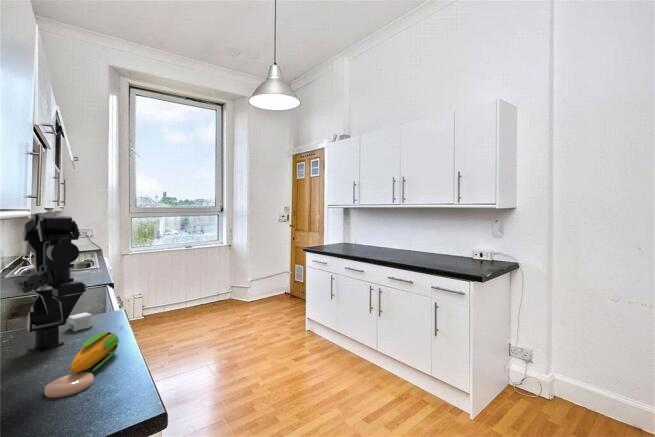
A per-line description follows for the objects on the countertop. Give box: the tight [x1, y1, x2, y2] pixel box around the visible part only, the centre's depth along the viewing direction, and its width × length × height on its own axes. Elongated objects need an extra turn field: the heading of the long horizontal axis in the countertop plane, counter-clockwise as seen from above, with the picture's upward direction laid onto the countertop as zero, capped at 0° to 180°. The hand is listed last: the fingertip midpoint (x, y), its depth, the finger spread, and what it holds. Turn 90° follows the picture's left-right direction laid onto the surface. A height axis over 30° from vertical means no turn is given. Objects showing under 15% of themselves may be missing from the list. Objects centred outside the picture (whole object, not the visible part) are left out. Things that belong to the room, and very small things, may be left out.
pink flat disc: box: [44, 372, 95, 399], centre depth 74 cm, size 9×9×1 cm
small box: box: [67, 311, 94, 332], centre depth 114 cm, size 6×6×5 cm
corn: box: [69, 331, 120, 374], centre depth 85 cm, size 7×8×20 cm
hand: (57, 316), depth 86 cm, fingers open, 9 cm apart
